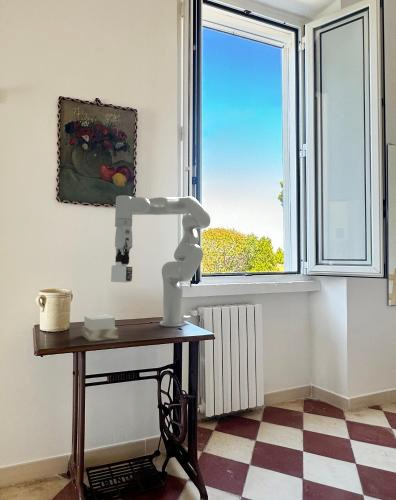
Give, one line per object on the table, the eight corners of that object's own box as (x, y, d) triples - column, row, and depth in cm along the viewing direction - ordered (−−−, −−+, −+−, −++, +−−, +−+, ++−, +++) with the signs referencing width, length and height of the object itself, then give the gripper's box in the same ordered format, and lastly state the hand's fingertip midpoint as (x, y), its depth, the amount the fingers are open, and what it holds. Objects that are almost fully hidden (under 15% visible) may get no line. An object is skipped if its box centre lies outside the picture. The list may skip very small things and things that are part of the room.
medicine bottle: (126, 282, 167) (127, 254, 167) (110, 281, 168) (111, 254, 169) (132, 281, 174) (133, 255, 174) (117, 280, 175) (118, 254, 176)
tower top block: (107, 324, 171) (107, 314, 171) (114, 328, 162) (114, 317, 162) (84, 326, 165) (84, 316, 165) (91, 330, 157) (91, 319, 157)
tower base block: (109, 333, 172) (109, 323, 172) (118, 339, 162) (118, 328, 162) (82, 336, 166) (82, 326, 166) (89, 342, 156) (89, 331, 156)
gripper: (139, 223, 166) (137, 264, 166) (124, 225, 181) (123, 263, 181) (122, 221, 162) (121, 264, 162) (109, 224, 177) (107, 263, 177)
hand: (122, 263), depth 171 cm, fingers closed on medicine bottle, 6 cm apart
